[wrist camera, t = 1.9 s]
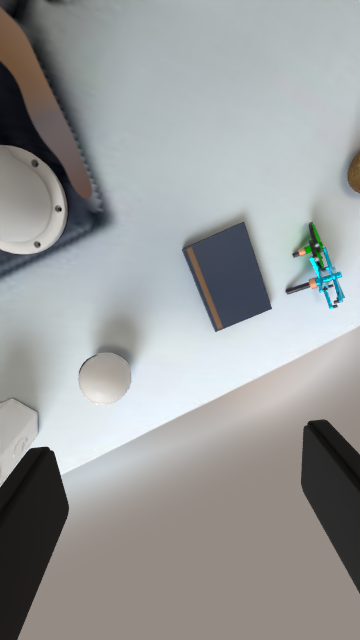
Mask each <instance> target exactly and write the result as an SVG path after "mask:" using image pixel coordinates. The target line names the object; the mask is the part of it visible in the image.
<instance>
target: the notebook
mask: <svg viewBox="0 0 360 640" xmlns="http://www.w3.org/2000/svg"><path fill="white" fill-rule="evenodd" d="M182 251H183V253H184V256H185V258H186V261H187V263H188V266H189V268H190V271H191V273H192V276H193V278H194V281H195V283H196V286H197V288H198V291H199V293H200V296H201V298H202V301H203V303H204V306H205V308H206V311H207V313H208V316H209V318H210V321H211V323H212V326H213V328H214V330H215V332H217V331H219V330H222V329H224V328H226V327H229V326H231V325H234V324H236V323H239V322H241V321H243V320H246V319H248V318H251V317H253V316H256V315H258V314H261V313H263V312H265V311H268V310H270V309H272V307H271V304H270V301H269V298H268V295H267V292H266V289H265V286H264V283H263V279H262V276H261V273H260V270H259V267H258V264H257V261H256V258H255V255H254V251H253V248H252V245H251V242H250V239H249V236H248V233H247V230H246V227H245V224H244V222H243V223H240V224H238V225H236V226H233V227H231V228H229V229H227V230H224V231H222V232H220V233H218V234H215V235H213V236H211V237H208V238H206V239H204V240H202V241H199V242H197V243H195V244H193V245H190V246H188V247H186V248H183V249H182Z"/></svg>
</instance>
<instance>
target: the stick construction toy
mask: <svg viewBox="0 0 360 640" xmlns="http://www.w3.org/2000/svg"><path fill="white" fill-rule="evenodd" d="M309 229H310V233H311V236H312V239H311V240H309V244H310V245H309V246H307V247H304V248H302V249H300V250H298V252H295V253H293V257H294V258H295V257H297V256H299V255H300V256H302V255H305V254H307V253H310V252H312V253H313V256H312V257H310V261H311V263H312V265H313V267H314V269H315V272H316V274H317V276H318V277H317V278H312V279H309V282H307V283H304V284H301V285H298V286H295V287H292V288H289V289H286V293H287V294H291V293H294V292H297V291H300V290H303V289H306V288H309V287H311V288H312V289H314V288H317V287H318V286H319V292H320V293H321V292H324V294H325V297H326V300H327V302H328V305H329V308H330V309H333V308H336V307H338V306H337V305H333V306H332V303H331V300H330V297H329V294H328V288H331V287H334V286H333V284H332V285H328V284H327V283H326V282H328V281H331V280H333V282H334V285H335V289H336V293H337V296H338V297H337V300H335V301H334V304H336V303H340V302H343V298H345V296H344V294H343V292H342V289H341V287H340V284H339V282H338V279H337V278H340V277H342V274H341V272H337V273H336V269H335V266H334V267H333V266H332V263H331V261H330V258H329V255H328V252H327V249H326V247H324V248H323V247H322V246H323V244H322V242H321V241H320V238H319V235H318V233H317V230H316V228H315V226H314V224H313V222H310V223H309ZM321 252H324V255H325V258H326V261H327V263H328V266H327V267H325V268H324V265H323V261H322V259H323V257H322V256H321V254H320V253H321ZM314 259H315V260H314ZM326 270H327V271H328V272H329V274H330V275H328V276H325V277H323V275H322V272H323V271H326Z"/></svg>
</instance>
